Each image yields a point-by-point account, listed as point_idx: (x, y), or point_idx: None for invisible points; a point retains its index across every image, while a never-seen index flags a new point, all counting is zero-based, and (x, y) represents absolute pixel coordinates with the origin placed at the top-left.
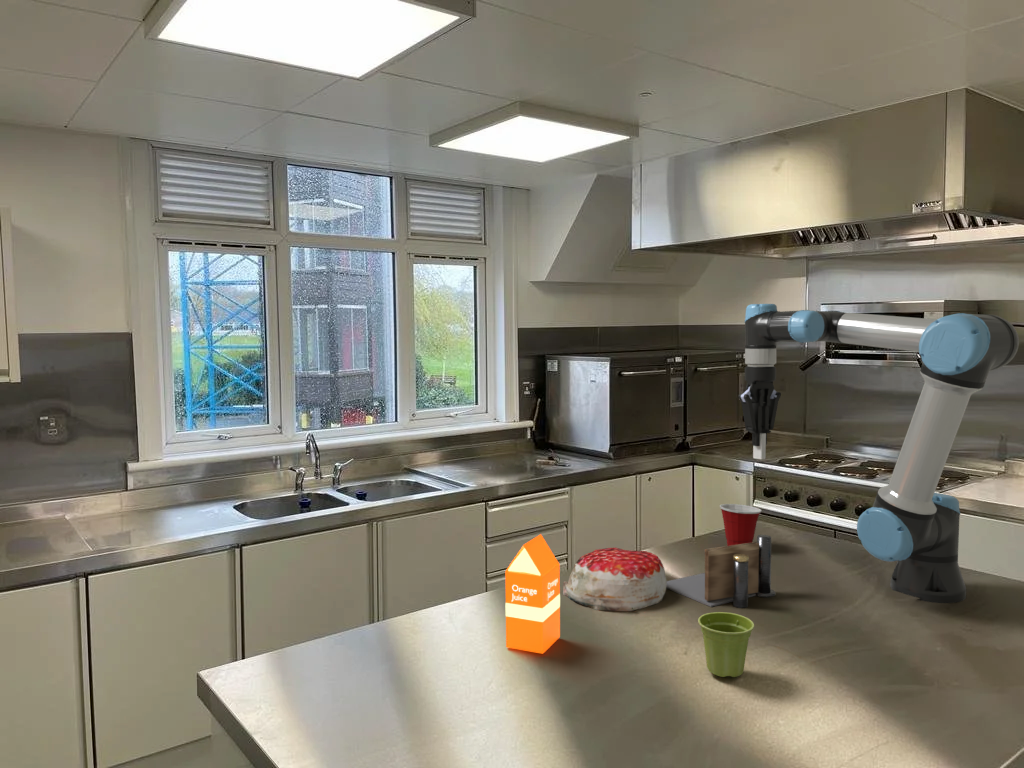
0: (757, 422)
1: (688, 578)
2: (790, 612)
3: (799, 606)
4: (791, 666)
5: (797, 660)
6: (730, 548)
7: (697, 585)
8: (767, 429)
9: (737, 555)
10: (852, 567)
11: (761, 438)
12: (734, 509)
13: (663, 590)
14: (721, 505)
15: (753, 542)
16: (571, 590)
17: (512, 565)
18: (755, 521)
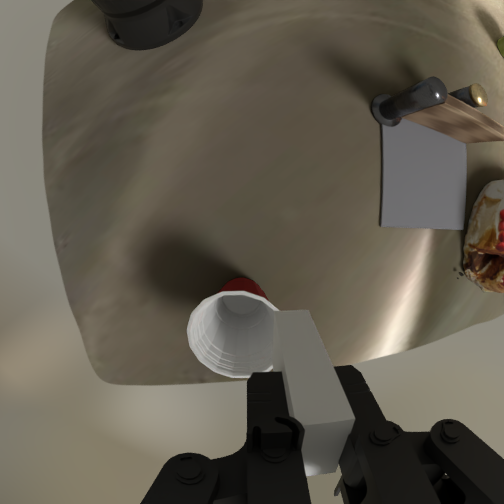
0: (434, 500)
1: (428, 220)
2: (401, 53)
3: (378, 54)
4: (467, 15)
5: (459, 13)
6: (486, 116)
7: (438, 190)
8: (269, 460)
9: (482, 100)
10: (147, 118)
11: (343, 390)
12: (221, 361)
13: (495, 181)
14: (263, 370)
15: (448, 103)
16: None
17: None
18: (227, 290)
